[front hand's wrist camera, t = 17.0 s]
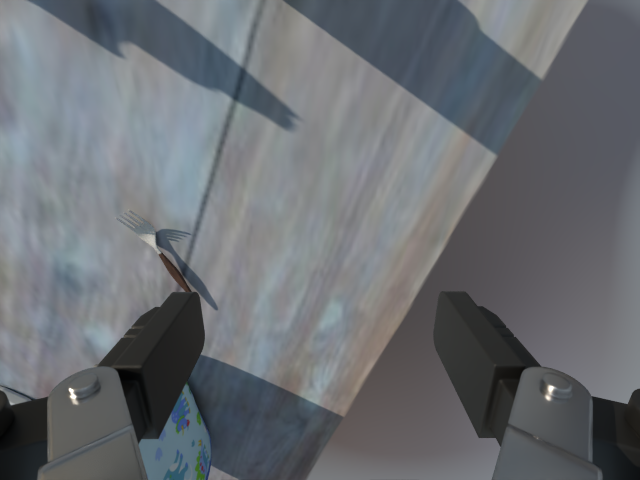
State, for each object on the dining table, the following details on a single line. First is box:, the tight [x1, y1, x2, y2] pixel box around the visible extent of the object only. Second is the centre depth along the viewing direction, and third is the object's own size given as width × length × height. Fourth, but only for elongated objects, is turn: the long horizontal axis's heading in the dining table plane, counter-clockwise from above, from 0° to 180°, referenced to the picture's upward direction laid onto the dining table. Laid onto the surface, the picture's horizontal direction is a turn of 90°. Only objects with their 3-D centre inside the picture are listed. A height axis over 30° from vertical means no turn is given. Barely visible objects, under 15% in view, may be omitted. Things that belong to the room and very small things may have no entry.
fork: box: [115, 210, 192, 292], centre depth 46 cm, size 3×16×2 cm, turn 28°
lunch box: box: [94, 364, 211, 480], centre depth 46 cm, size 26×11×21 cm, turn 11°
